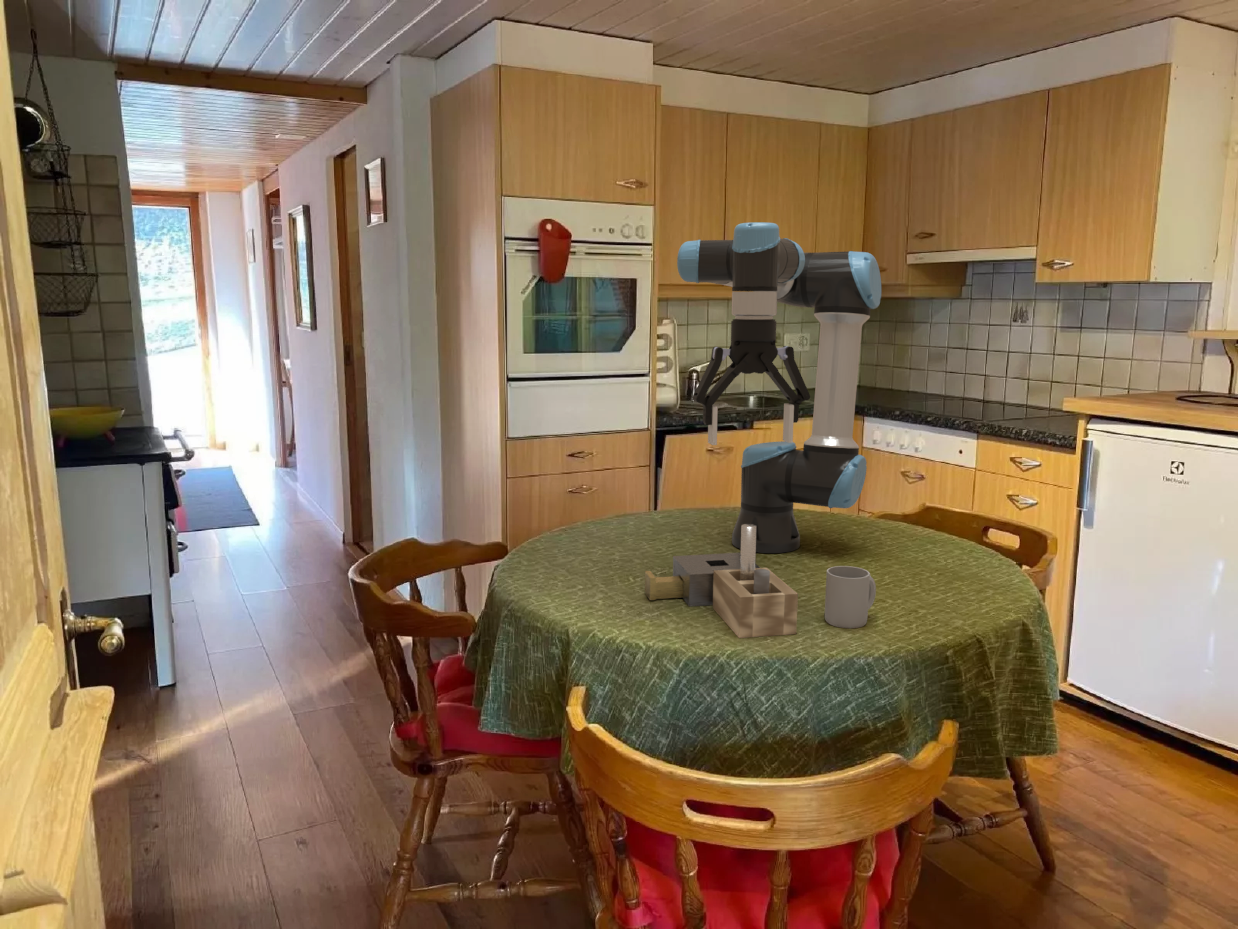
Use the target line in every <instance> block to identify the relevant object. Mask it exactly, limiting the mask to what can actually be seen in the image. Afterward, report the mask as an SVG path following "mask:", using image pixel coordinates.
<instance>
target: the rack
mask: <svg viewBox="0 0 1238 929" xmlns="http://www.w3.org/2000/svg"><path fill="white" fill-rule="evenodd" d="M798 602H799V594H798V592H796V590H794V589H793V588H792V587H791V586H790V585H789V584H787V583H786V582H784V580H782V579H781V578H780V577H779V576H778V575H776V574H775V573H774V572H773V571H772V570H770V569H769V567H760V568H755V570H754V580H743V581H740V569H733V570H715V571H714V576H713V605H712V609H713V610H714V611H715V612H716V613H717V615H719V617H720V618H721V620H723V622H724V623H726V625H727V626H728V627H729V628H730V629H731V631H733V633H734V634H735V635H736V636H737V637H738V638H739V639H743V638H756V637H757V638H758V637H771V636H785V635H786V636H787V635H797V630H798V628H797V625H798V606H799V605H798Z"/></svg>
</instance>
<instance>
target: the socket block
mask: <svg viewBox="0 0 1238 929" xmlns="http://www.w3.org/2000/svg"><path fill="white" fill-rule="evenodd" d="M740 557H741V552H725V553H711V554H709V553H707V554H706V553H705V554H692V555H689V554H688V555H687V554H686V555H673V557H672V576H681V578H682V579H683V597H682V599H683V600H684V602H685V604H687V606H688V607H700V606H713V576H714V571H715V570H733V569H740ZM755 568H761V566H759V565H758V564H757V563H756V562H755Z"/></svg>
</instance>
